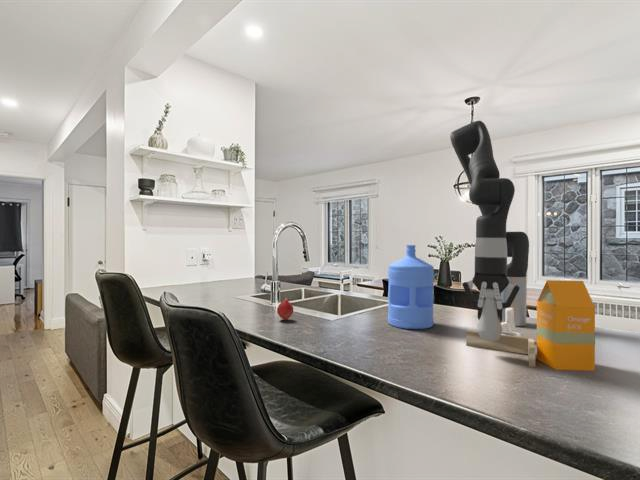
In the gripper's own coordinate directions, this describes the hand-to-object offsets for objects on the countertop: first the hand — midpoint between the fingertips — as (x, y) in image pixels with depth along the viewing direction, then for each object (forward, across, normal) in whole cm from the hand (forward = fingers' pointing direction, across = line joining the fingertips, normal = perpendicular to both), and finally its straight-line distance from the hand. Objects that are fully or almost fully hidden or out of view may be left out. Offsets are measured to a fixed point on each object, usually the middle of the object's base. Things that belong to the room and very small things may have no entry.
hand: (490, 322), depth 90 cm
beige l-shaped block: (+8, +2, +1) cm, 9 cm away
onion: (+9, -68, +5) cm, 69 cm away
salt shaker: (+4, 0, 0) cm, 4 cm away
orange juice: (+9, +16, +2) cm, 18 cm away
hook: (+9, +4, +21) cm, 23 cm away
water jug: (+9, -27, +23) cm, 36 cm away
